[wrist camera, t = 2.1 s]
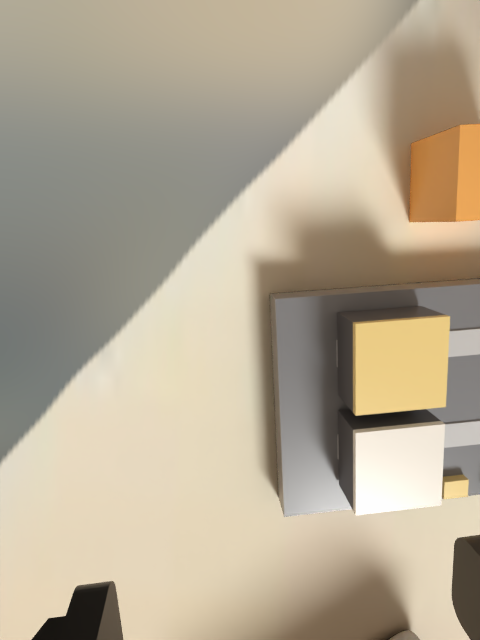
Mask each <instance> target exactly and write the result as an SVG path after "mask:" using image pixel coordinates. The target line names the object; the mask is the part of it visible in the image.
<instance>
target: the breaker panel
mask: <svg viewBox="0 0 480 640" xmlns="http://www.w3.org/2000/svg"><path fill="white" fill-rule="evenodd" d="M414 306H423V307H426V308H428V309H431V310H434V311H437V312H439V313H442V314H445V315H448V316H450V331H449V352H448V373H447V395H446V407H441V408H431V409H427V410H428V411H429V412H431V413H432V414H433V415H434V416H436V417H437V418H438V419H439V420H441V421H442V422H443V423H444V424H445V437H444V459H443V480H442V499H451V498H460V497H468V496H470V495H479V494H480V278H477V279H463V280H450V281H436V282H422V283H409V284H395V285H381V286H368V287H354V288H340V289H326V290H313V291H299V292H285V293H272V294H270V313H271V336H272V359H273V382H274V404H275V427H276V450H277V473H278V496H279V501H280V504H281V507H282V511H283V514H284V517H287V516H296V515H304V514H313V513H322V512H331V511H339V510H348V509H352V508H351V506H350V504H349V502H348V500H347V498H346V497H345V495H344V493H343V491H342V489H341V487H340V486H339V444H338V410H345V409H350V408H349V407H348V406H347V405H346V404H345V402H344V401H343V400H342V399H341V398H340V396H339V395H338V346H337V312H349V311H362V310H375V309H388V308H401V307H414Z"/></svg>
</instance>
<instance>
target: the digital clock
mask: <svg viewBox="0 0 480 640" xmlns="http://www.w3.org/2000/svg"><path fill="white" fill-rule="evenodd" d="M389 640H420V639H419V638H418V637H417V636H416V635H415V634H414V633H413V632H411V631H402V632H400V633H398V634H396V635H395V636H393V637H392V638H390V639H389Z"/></svg>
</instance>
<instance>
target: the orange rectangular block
mask: <svg viewBox="0 0 480 640" xmlns="http://www.w3.org/2000/svg"><path fill="white" fill-rule="evenodd" d="M473 220H480V124H467V125H458V126H456V127H453V128H451V129H448V130H445V131H443V132H440V133H437V134H435V135H432V136H429V137H427V138H424V139H422V140H419V141H416V142H414V143H411V177H410V217H409V222H457V221H473Z"/></svg>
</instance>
